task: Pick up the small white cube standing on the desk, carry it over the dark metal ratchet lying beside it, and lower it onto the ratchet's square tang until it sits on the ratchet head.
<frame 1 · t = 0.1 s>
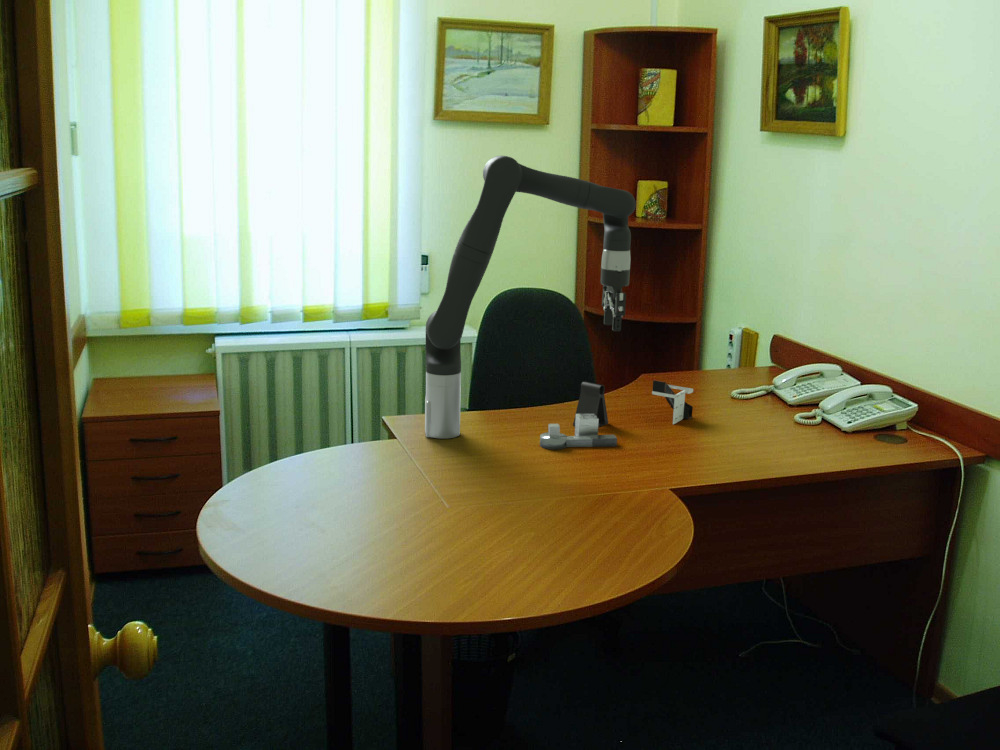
hand: (612, 327, 254), 29 cm above the table, fingers open, 8 cm apart
ratchet: (553, 445, 248), on the table
small white cube: (585, 437, 255), on the table
two-tone angle bracket: (671, 420, 276), on the table
dark folded stand: (590, 425, 268), on the table
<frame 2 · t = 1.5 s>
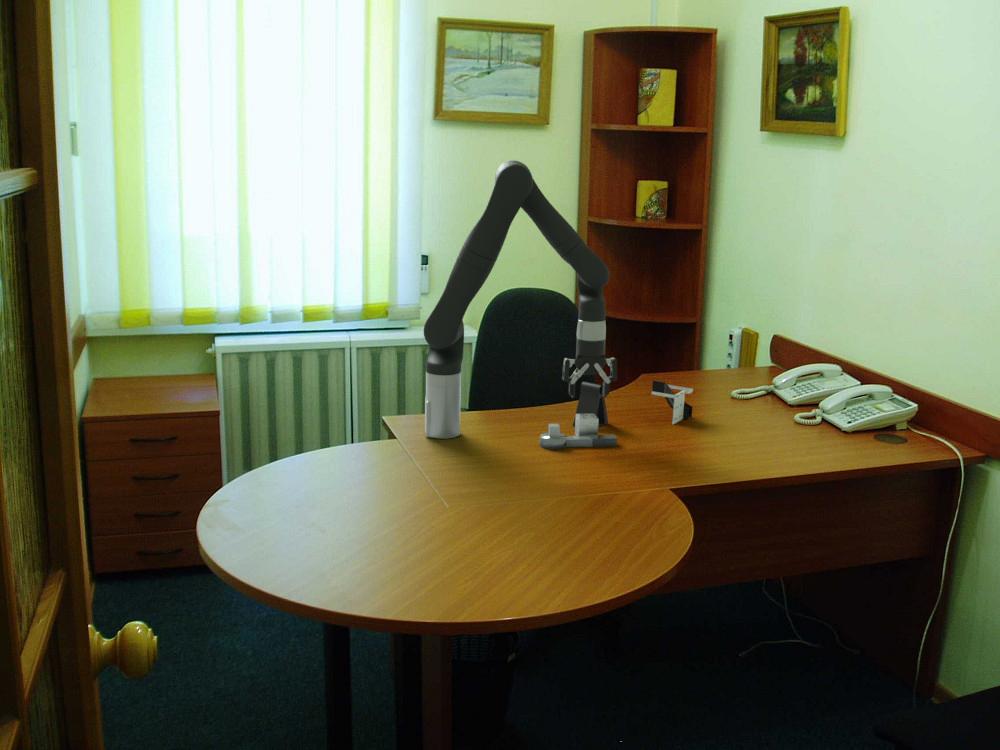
hand: (588, 396, 252), 11 cm above the table, fingers open, 8 cm apart
nothing on the table moved.
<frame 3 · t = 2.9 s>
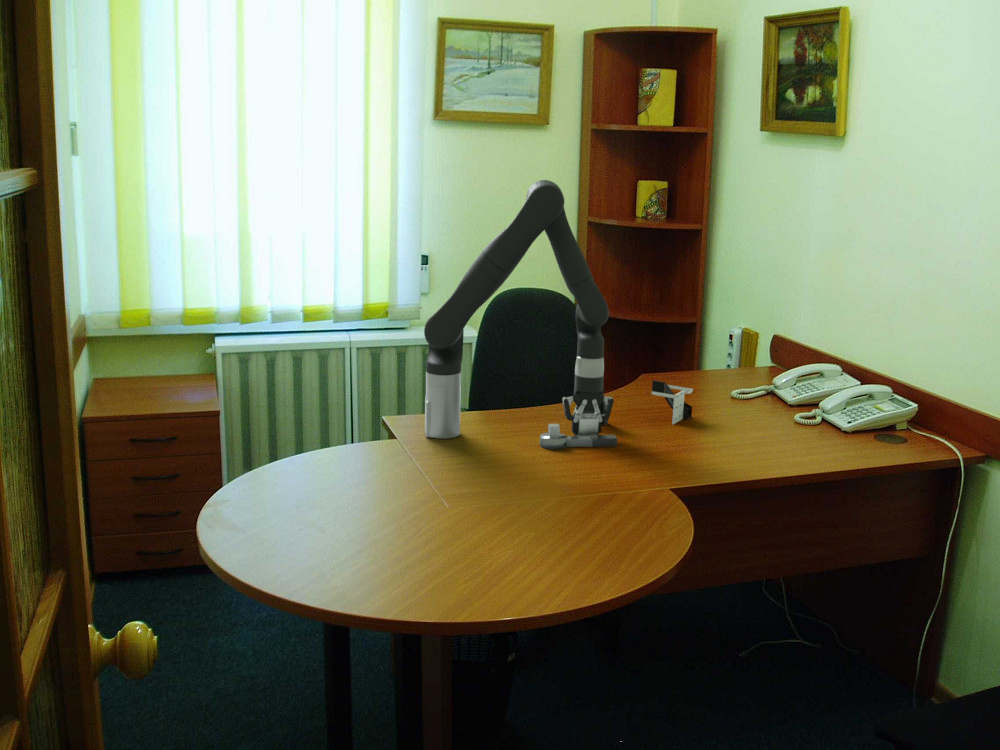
hand: (586, 434, 255), 1 cm above the table, fingers closed on small white cube, 5 cm apart
small white cube: (585, 437, 255), on the table, touching gripper
everything else where it was.
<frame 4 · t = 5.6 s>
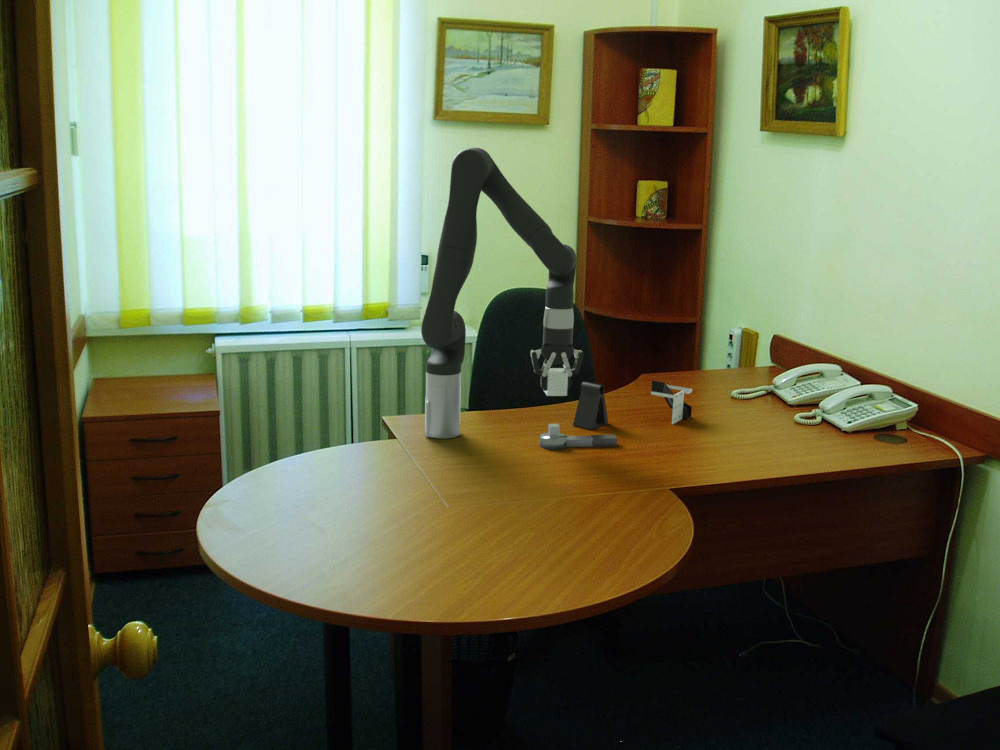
hand: (555, 389, 245), 15 cm above the table, fingers closed on small white cube, 5 cm apart
small white cube: (555, 393, 245), point 14 cm above the table, touching gripper
everything else where it was.
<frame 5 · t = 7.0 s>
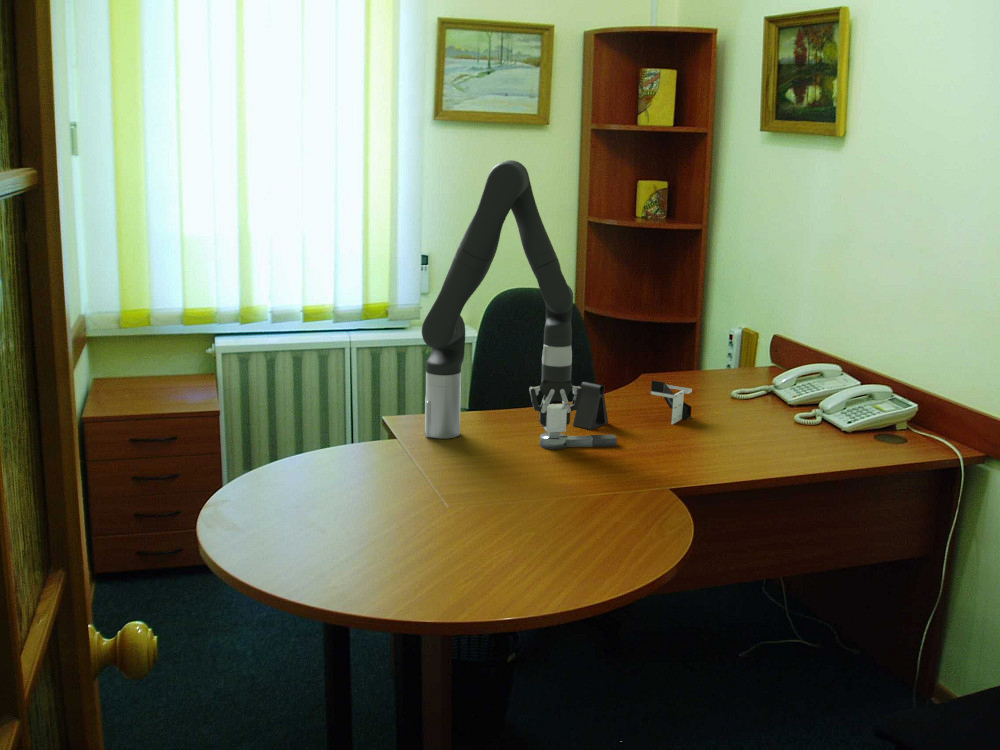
hand: (554, 425, 247), 5 cm above the table, fingers closed on small white cube, 5 cm apart
small white cube: (554, 429, 247), point 5 cm above the table, touching gripper
everything else where it was.
when the fingers open (4 cm above the table, at t = 8.2 s): small white cube stays where it is, resting on ratchet.
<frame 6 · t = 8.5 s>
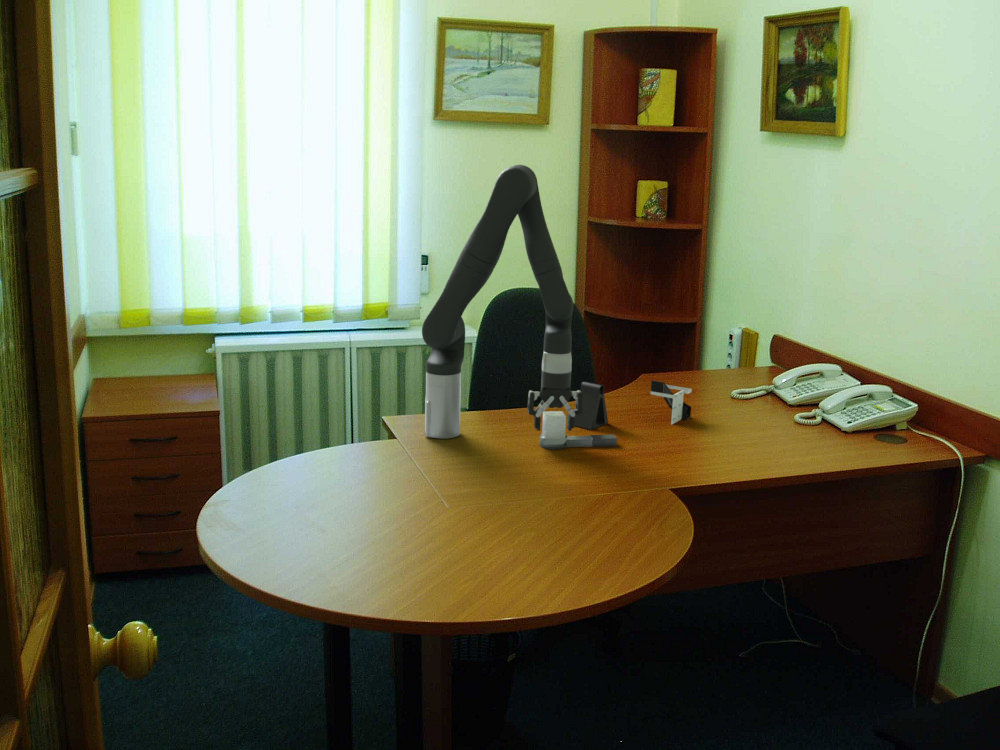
hand: (553, 429, 247), 4 cm above the table, fingers open, 8 cm apart
small white cube: (553, 436, 248), point 2 cm above the table, touching ratchet
everything else where it was.
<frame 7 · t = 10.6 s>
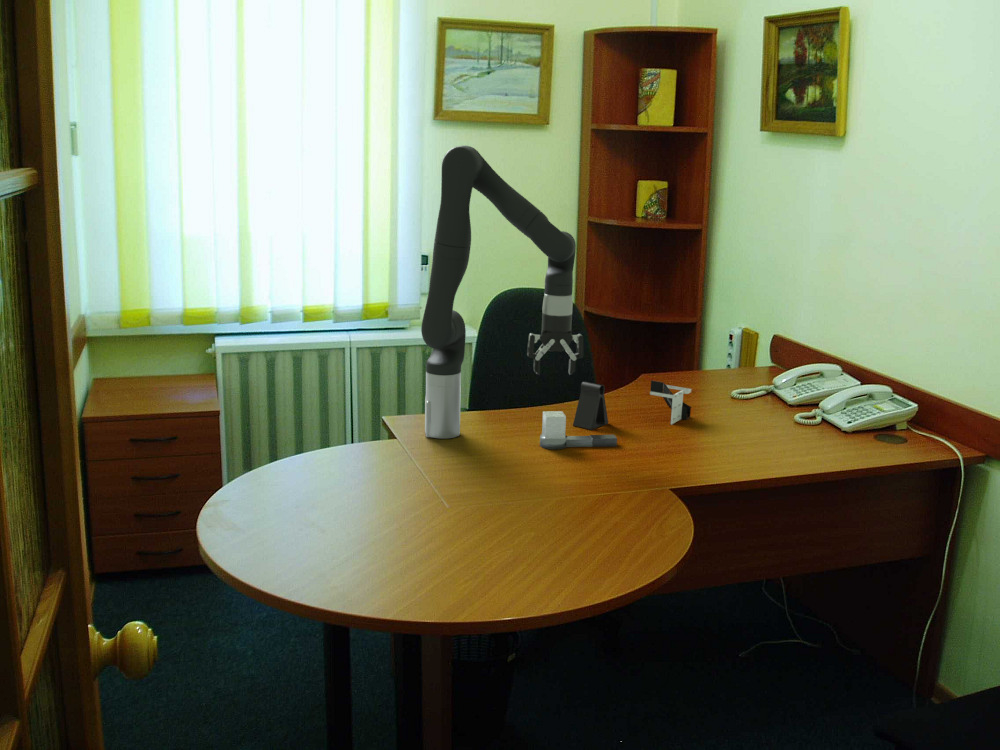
hand: (554, 374, 245), 19 cm above the table, fingers open, 8 cm apart
nothing on the table moved.
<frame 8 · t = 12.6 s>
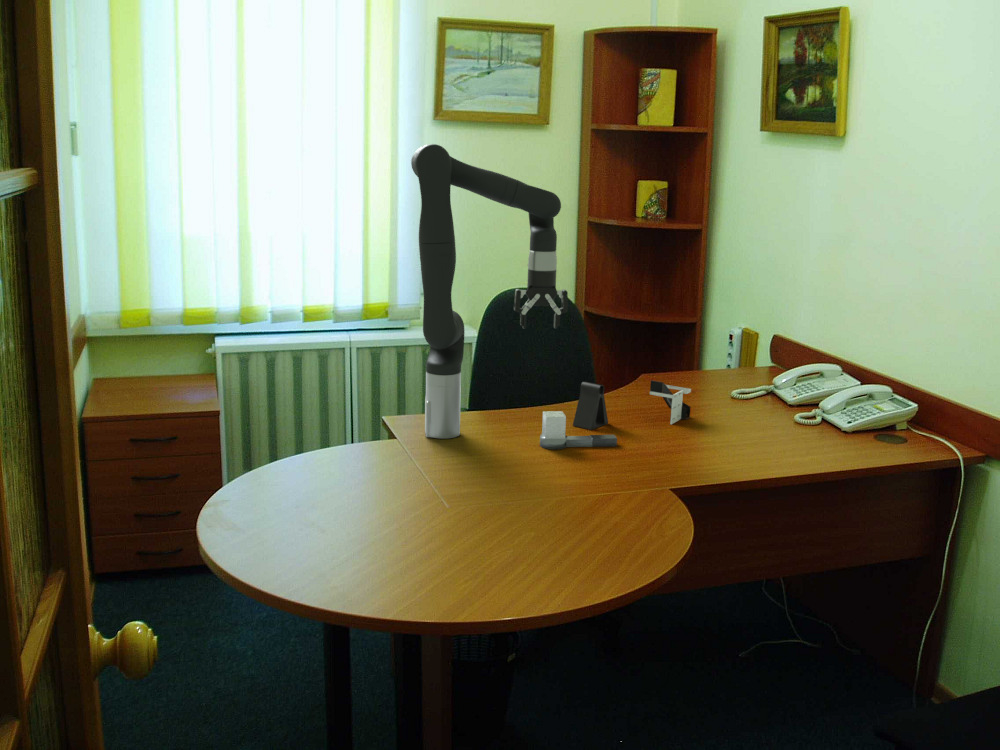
hand: (539, 328, 256), 28 cm above the table, fingers open, 8 cm apart
nothing on the table moved.
at the end: small white cube 0.1 cm from the ratchet (horizontally); small white cube point 2.5 cm above the table; small white cube tilted 0° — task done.
